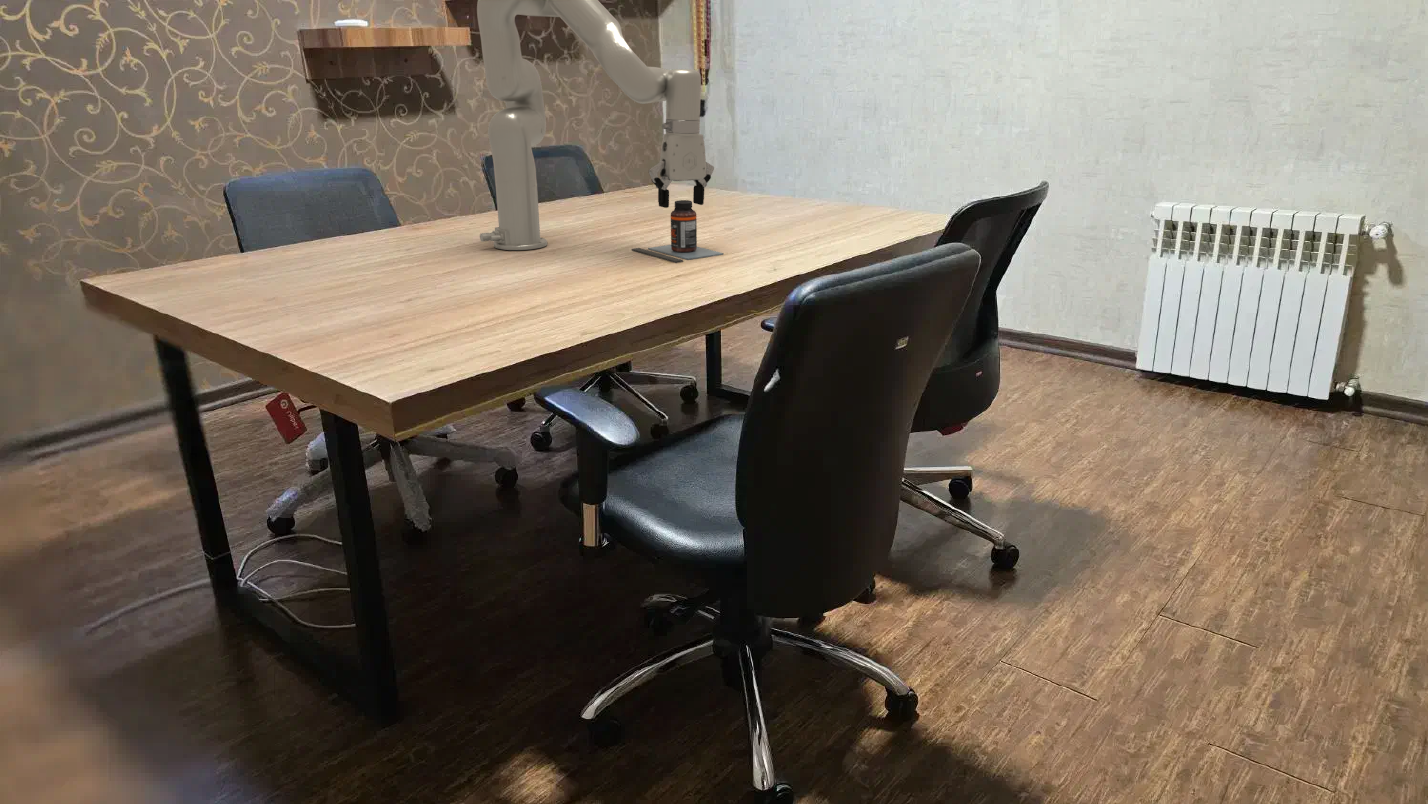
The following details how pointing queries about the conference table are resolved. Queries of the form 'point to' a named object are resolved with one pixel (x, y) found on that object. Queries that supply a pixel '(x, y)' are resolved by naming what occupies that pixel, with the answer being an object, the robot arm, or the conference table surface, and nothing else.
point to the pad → (688, 255)
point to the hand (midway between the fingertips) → (681, 205)
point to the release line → (657, 255)
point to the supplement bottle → (683, 227)
